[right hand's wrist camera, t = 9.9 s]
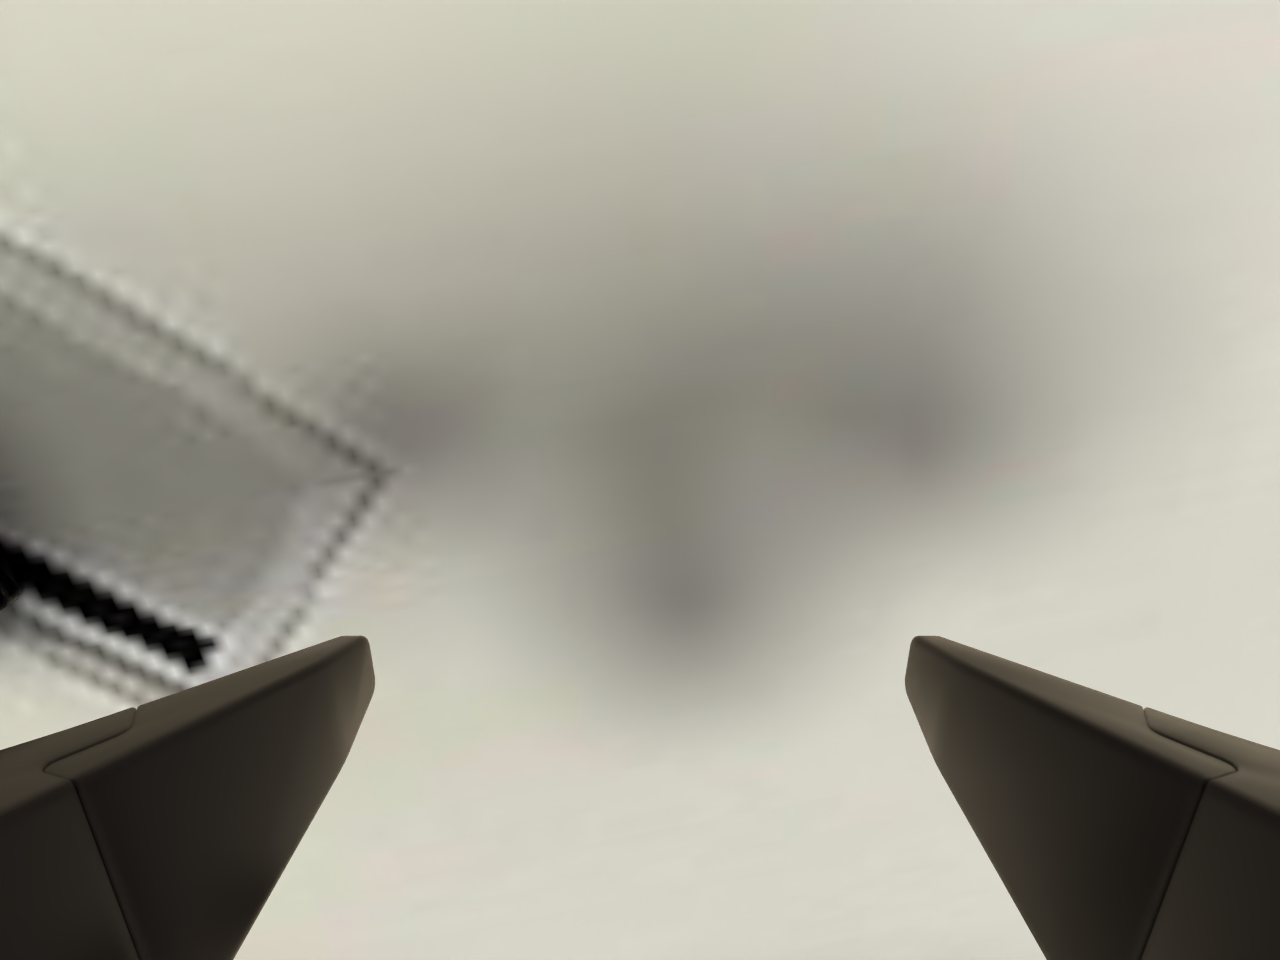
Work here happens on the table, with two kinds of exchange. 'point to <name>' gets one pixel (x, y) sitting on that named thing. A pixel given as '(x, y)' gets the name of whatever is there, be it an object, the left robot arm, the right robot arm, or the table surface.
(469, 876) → the table surface
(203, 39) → the table surface
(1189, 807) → the right robot arm
